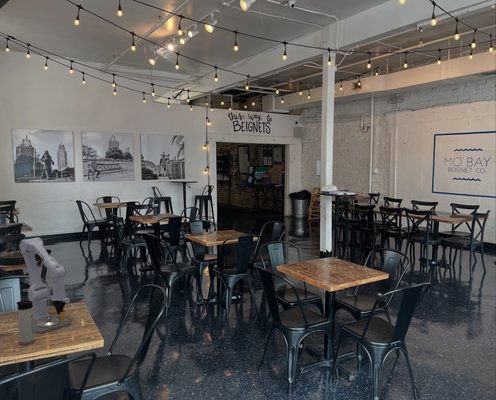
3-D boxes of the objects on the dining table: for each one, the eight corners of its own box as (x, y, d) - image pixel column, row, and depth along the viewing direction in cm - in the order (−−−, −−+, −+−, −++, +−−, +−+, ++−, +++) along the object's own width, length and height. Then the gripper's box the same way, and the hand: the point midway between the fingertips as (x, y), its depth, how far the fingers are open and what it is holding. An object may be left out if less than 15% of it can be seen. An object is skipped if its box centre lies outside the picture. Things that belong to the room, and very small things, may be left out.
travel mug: (16, 342, 186) (14, 301, 184) (31, 338, 191) (29, 297, 189) (21, 346, 182) (19, 304, 180) (36, 341, 186) (34, 300, 185)
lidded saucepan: (35, 328, 199) (35, 318, 198) (39, 320, 209) (38, 311, 209) (65, 324, 203) (65, 314, 203) (67, 317, 214) (67, 307, 213)
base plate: (26, 326, 205) (26, 320, 205) (58, 317, 217) (57, 312, 217) (39, 334, 195) (39, 328, 194) (71, 324, 207) (71, 319, 207)
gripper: (43, 289, 210) (44, 314, 211) (61, 293, 204) (62, 318, 205) (54, 286, 216) (56, 310, 217) (72, 289, 210) (74, 314, 211)
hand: (60, 314), depth 211 cm, fingers closed
